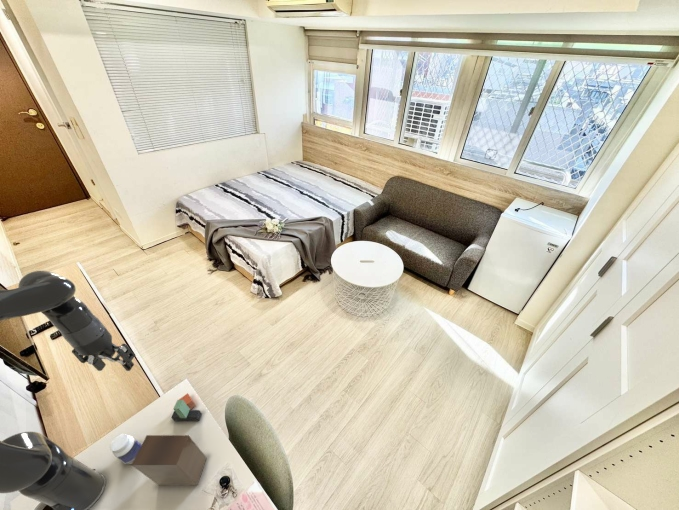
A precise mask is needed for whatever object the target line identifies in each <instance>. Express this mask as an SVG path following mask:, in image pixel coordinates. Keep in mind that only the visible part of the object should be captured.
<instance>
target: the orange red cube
mask: <svg viewBox="0 0 679 510" xmlns="http://www.w3.org/2000/svg"><path fill="white" fill-rule="evenodd" d="M178 400H184V402H185V403H186V404H187V406H188V407H189V409H190V410H193V408H194V407H196V403H195V402H194V400H193V399H192V397H191V396H190V394H189V393H188V392H187V393H186V394H184V395H183V396H181V398H179V399H178Z"/></svg>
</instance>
